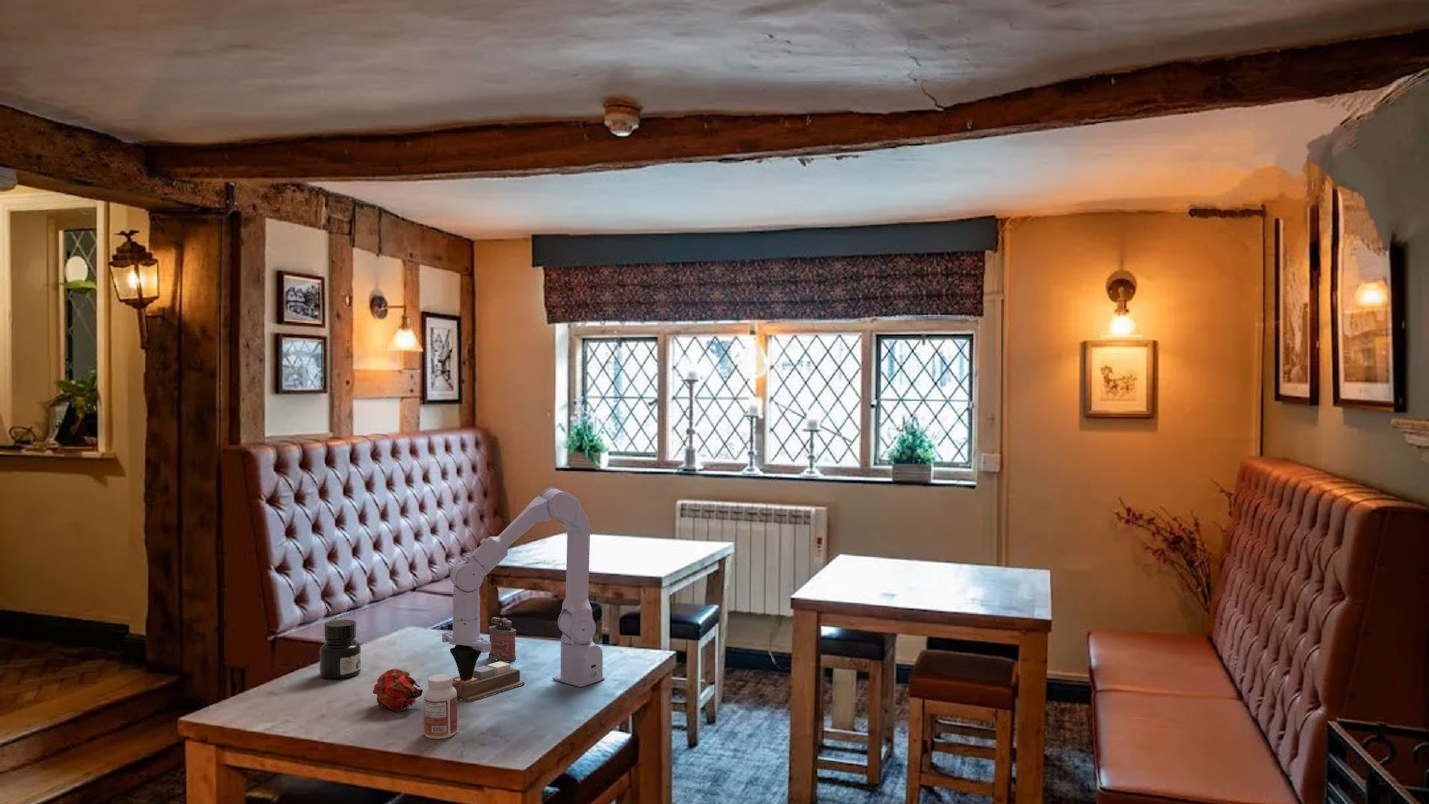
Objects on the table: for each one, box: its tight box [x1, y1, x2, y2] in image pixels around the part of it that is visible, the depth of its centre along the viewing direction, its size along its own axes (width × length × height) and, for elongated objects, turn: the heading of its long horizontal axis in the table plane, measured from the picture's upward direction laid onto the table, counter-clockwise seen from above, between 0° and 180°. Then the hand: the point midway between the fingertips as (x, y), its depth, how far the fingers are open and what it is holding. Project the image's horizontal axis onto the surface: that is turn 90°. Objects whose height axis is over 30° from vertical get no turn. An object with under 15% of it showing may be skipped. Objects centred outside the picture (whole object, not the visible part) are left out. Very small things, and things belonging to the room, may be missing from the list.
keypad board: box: [452, 667, 525, 703], centre depth 218 cm, size 10×15×3 cm, turn 142°
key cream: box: [486, 661, 511, 676], centre depth 221 cm, size 4×4×2 cm
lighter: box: [488, 616, 517, 662], centre depth 241 cm, size 8×3×10 cm, turn 58°
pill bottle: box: [423, 673, 458, 740], centre depth 190 cm, size 6×6×11 cm
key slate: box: [472, 665, 495, 681], centre depth 218 cm, size 4×4×2 cm
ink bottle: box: [319, 619, 362, 680], centre depth 228 cm, size 10×9×12 cm
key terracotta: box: [454, 677, 478, 685], centre depth 214 cm, size 4×4×2 cm
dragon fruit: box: [372, 668, 424, 712], centre depth 205 cm, size 8×8×12 cm
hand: (466, 679), depth 214 cm, fingers closed, pressing on key terracotta
